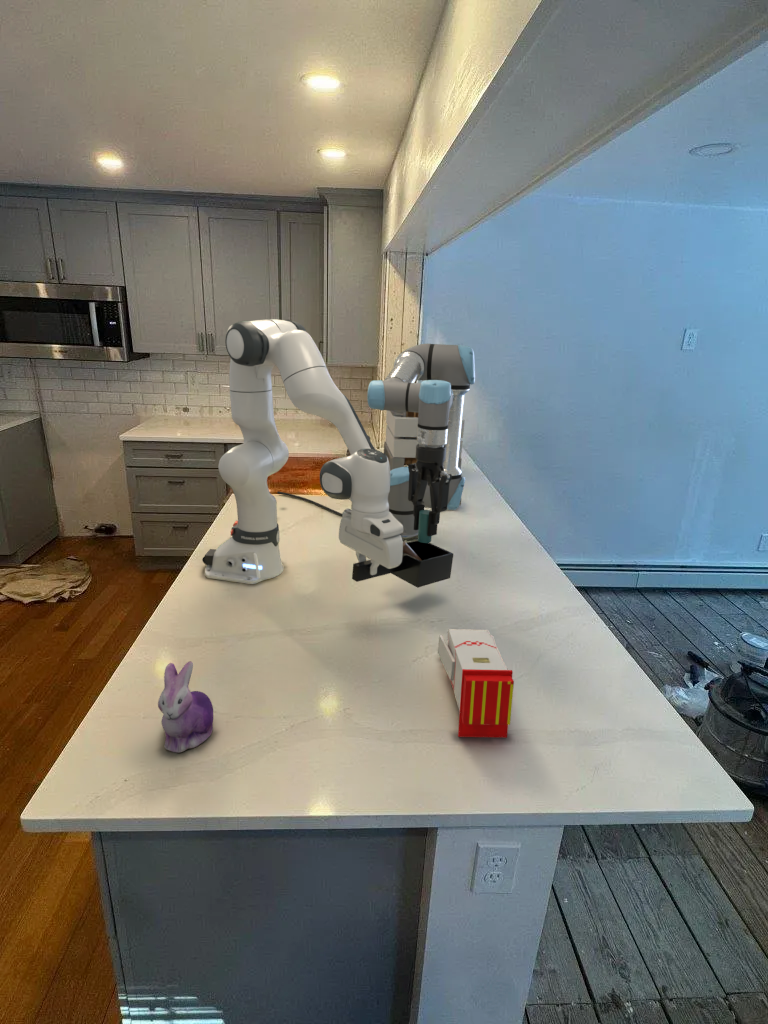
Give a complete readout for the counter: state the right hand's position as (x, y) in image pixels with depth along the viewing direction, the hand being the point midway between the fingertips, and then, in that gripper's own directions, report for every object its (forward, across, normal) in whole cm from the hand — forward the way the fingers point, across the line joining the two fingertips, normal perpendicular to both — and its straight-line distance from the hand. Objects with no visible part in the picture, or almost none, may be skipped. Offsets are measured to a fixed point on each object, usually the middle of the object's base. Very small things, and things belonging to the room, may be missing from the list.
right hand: (425, 531), depth 148 cm
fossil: (+20, -137, +86) cm, 163 cm away
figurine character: (+20, -50, +66) cm, 85 cm away
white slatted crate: (+20, -92, +88) cm, 129 cm away
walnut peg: (+10, 0, -1) cm, 10 cm away
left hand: (+6, 0, -19) cm, 20 cm away
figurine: (+20, +12, -70) cm, 74 cm away
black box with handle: (+12, 0, -9) cm, 15 cm away
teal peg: (+2, 0, 0) cm, 2 cm away
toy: (+20, +35, -19) cm, 45 cm away
